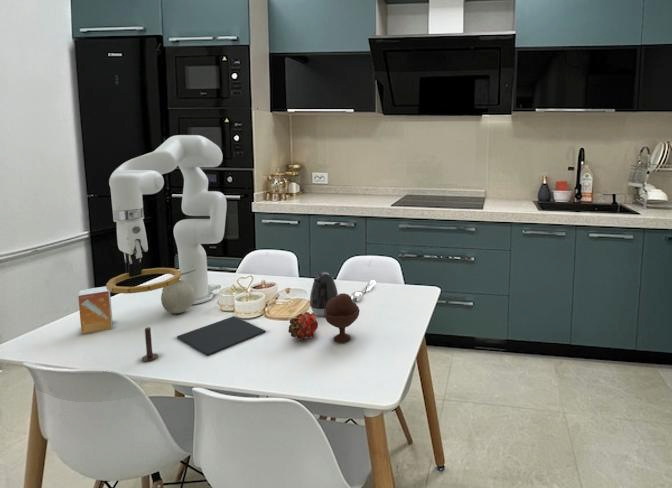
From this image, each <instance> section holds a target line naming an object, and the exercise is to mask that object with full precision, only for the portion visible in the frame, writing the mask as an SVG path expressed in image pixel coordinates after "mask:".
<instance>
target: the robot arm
mask: <svg viewBox="0 0 672 488" xmlns="http://www.w3.org/2000/svg"><path fill="white" fill-rule="evenodd" d="M223 156H224V155H223V152H222V149H221V147H220V146H219V145H217V144H216V143H215V142H213V141H212V140H210V139H209V138H207V137H205V136H203V135H199V134H178V135H172V136H169V137H168V138H167V139H166V140H165V141H164V142H163V143H161V144H160V145H159V146H158V147H157V148H155V150H153V151H151V152H148V153H145V154H143V155H138V156H136V157H134V158H131V159H129V160H126V161H125V162H123V163H122V164H120V165H119V166H118V167H116V168H115V170H113V172H112V173H111V175H110V177H109V179H108V185H109V187H110V188H109V189H110V195H111V196H110V197H111V198H110V199H111V208H112V220H113V222H114V223H116V241H117V247H118V250H119V251H120V252H122V253H123V256H124V266H125V273H129V276H130V277H132V278H135V277H134V276H137V277H139V276H138V275H141V274H142V270H143V269H142V258H143V253H146V252H148V250H149V247H148V239H147V232H146V226H145V223H144V219H145V214H144V213H145V211H144V200H143V195H154V194H157V193H159V192H160V191H161V190H162V189H163V187H164V185H165V180H164V177H163V175H165V174H168V173H171V172H174V170H176V168H177V167H178V168H179V170H180V171H181V174H182V177H183V189H182V198H181V212H182V213H183V214H184V215H186V216H191V217H203V216H204V217H209V218H185V219H181V220H179V221H178V222H176V223H175V225H174V226H173V237H174V240H175V244H176V248H177V257H178V270H179V271H181V274H182V273H186V272H190V271H193V270H196V271H193V272H190V273H187V274H184V275H181V277H180V280H183V281H187V282H188V283H189V284H191V286H192V287H193V289H194V294H195V296H194V301H193V304H192V305H198V304H199V305H200V304H203V303H206V302H208V301H210V300H212V299H213V298H214V291H216V290H219V289H222V286H221V283H216V284H214V283H212V284H209V275H208V274H209V273H208V259H207V258H208V257H207V252H206V250H205V248H204V247H203V245H210V244H211V245H212V244H219V243H221V241H223V238H224V236H225V230H226V229H225V228H226V219H227V208H228V204H227V198H226V196H225V194H224V193H223V192H221V191H216V190H211V191H210V190H209V178H208V176H207V175H206V173H205V172H204V171H203V169H202V168H216V167H219V166H220V165H221V164H222V163H223V160H224V159H223ZM142 252H143V253H142ZM141 276H142V275H141ZM192 305H191V306H192Z"/></svg>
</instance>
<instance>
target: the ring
mask: <svg viewBox="0 0 672 488" xmlns="http://www.w3.org/2000/svg"><path fill="white" fill-rule="evenodd" d="M141 270H142V274H141V275H138V276H134V277H130V276H129V273H126V272H125V273H122V274H119V275H117V276H114V277H112V278H110V279H109V280H108V282H106V284H105V286H106V288H107V290H109V291H110V293H112V294H139V293H145V292H146V293H147V292H149V291H150V292H151V291H155V290H159V289H163V288H164V287H167V286H169V285H171V284H173V283H175V282H177V281H179V280H180V277H181V271H179V269H176V268H174V267H155V268H154V267H152V268H143V269H141ZM158 274H164V275H172V276H171V277H169V278H168V279H165V280H162V281H159V282H158V281H157V282H155V283H154V282H153V283H151V284H145V285H136V286H120V285H119V286H117V284H119V283H120V282H123V281H125V280H129V279H132V278H136V277H140V276H147V275H158Z"/></svg>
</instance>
